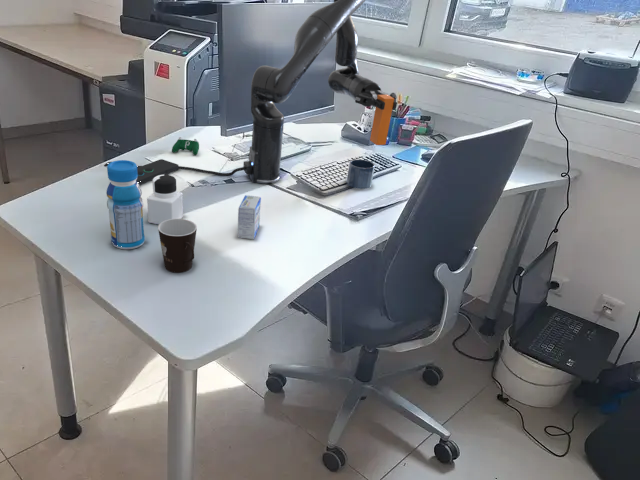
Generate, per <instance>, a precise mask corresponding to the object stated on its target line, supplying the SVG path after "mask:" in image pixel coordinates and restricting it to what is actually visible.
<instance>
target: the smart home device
mask: <svg viewBox="0 0 640 480" xmlns="http://www.w3.org/2000/svg"><path fill="white" fill-rule="evenodd" d="M139 166H140V167H138V168H137V173H138V177H137V180H136V181H137V182H139V183H138V184H139V186H142V185H143V184H146V183H149V182H151V181H152V182H153V178H154V177H156V176H159V175H170V174H172V173H174V172H177V171H179V169H178V166H179V164H178V163H175V162H172V161H169V160H166V159H163V158H160V159H156V160H155V161H151V162H149V163H146V164H143V165H139ZM140 181H141V182H140Z"/></svg>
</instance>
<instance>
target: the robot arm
mask: <svg viewBox="0 0 640 480" xmlns="http://www.w3.org/2000/svg"><path fill="white" fill-rule="evenodd" d="M366 1H367V0H333V2H332V3H329V4H327V5H325V6H323V7H321V8H318V9H317V10H315V11H314V12H312V13H311V14H310V15H309V16H308V17H307V18H306V19H305V20H304V21H303V23H302V24H301V25H300V27H299V28H298V29H297V31H296V34H295V36H294V37H295V38H294V45H293V46H294V47H293V55H292V56H291V57H290V59H289V61H288V62H287V63H286V64H285V65H284V66H283V67H281V68H278V67H274V66H270V65H260V66H259V67H257V68H256V70H255V71H254V73H253V75H252V79H251V84H250V85H251V86H250V112H251V116H252V133H251V146H249V150H248V151H249V153H248V155H249V156H248V160H247V161H243V165H242V167H238V168H235V169H233V170H232V171H231V172H220V171H219V172H218V171H213V170H208V169H202V168H195V167H191V166H181V165H178V170H185V171H193V172H197V173H202V174H207V175H208V174H209V175H214V176H220V177H229V176H234V174H236V172H237V173H238V172H240V171H244V173H245V175H247V176H248V178H249V179H250V180H251V182H252V183H258V184H265V185H267V184H275V183H277V182H279V181H280V175H281V173H280V172H281V161H282V160H281V159H282V146H283V136H284V125H285V117H284V116H285V115H284V114H283V113H282V112H281V111H280V110H279V109H278V108H277V106H276V104H283V103H284V102H286V101H287V100H288V99H289V98H290V97H291V95H292V94H293V92H294V91H295V89H296V88H297V86H298V85H299V83H300V81H301V80H302V78H303V77H304V75H305V74H306V72H307V71H308V70H309V68H310V66H311V65H313V63H314V62H315V60H316V59H317V58H318V56H319V55H320V54H321V53H322V52H323V50H325V48H326V47H327V45H328V44H329V43H330V42H331V41H332V39H333V38H334V36H335V35H336V37H335V38H336V39H335V55H334V60H335V63H336V65H337V66H340V67H344V68H340V69H339V68H338V69H334V70H333V71H331V72H330V74H329V76H328V79H327V83H328V86H329V88H330V90H332V92H334V93H335V94H339V95H346V96H349V97H350V98H352V99H353V100H354V103H356V104H359V105H362V106H363V107H366V108H370V107H373V108H376V107H378V108H379V109H381V110H384V107H385V102H383V101H382V100H380V99H378V98H377V97H378V95H389V96H391V97H392V98H394V103H393V108H392V110H396V109H397V106H398V102H397V98H398V97H397V94H396V92H390V94H388V93H386V92H384V91H383V90H382V88H381V86H380V85H379V84H378V83H376V82H375V81H373V80H371V79H369V78H367V77H364V76H361V74H360V72H359V68H358V67H359V66H358V60H357V59H358V58H357V55H358V54H357V53H358V46H359V37H358V31H357V29H356V25H355V23H354V21H353V17H352V15H353V14H354V13H355V12H356V11H357V10H358V9H359V8H360V7H361V6H362V5H363V4H364V3H365V2H366ZM111 162H112V161H108V162H106V163H104V165H103V167H107V165H108V164H107V163H111ZM137 166H138V167H140V166H141V165H137ZM138 167H137V168H138Z"/></svg>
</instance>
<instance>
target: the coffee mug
mask: <svg viewBox="0 0 640 480" xmlns="http://www.w3.org/2000/svg"><path fill="white" fill-rule="evenodd" d="M197 229H198V226H197V224H196V223H195V222H194V221H191V220H189V219H186V218H181V219H169V220H166V221H163V222H161V223H160V224H158V225H157V231H158V235H159V236H158V237H159V242H160V247H161V254H162V259H163V265H164V269H165V270H166V271H168V272H171V273H174V274H183V273H186V272H188V271H190V270H191V269H192V267H193V261H194V259H195V246H196V238H197Z"/></svg>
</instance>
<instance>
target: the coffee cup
mask: <svg viewBox="0 0 640 480" xmlns="http://www.w3.org/2000/svg"><path fill="white" fill-rule="evenodd" d="M348 163H349V164H348V169H347V174H346V175H347V176H346V185H347V186H349V187H351V188H353V189H359V190H366V189H370V188H371V187H372V184H373V178H374V173H375V169H376V164H375V163H374V162H372V161H370V160H366V159H352V160H350V161H349V162H348Z"/></svg>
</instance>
